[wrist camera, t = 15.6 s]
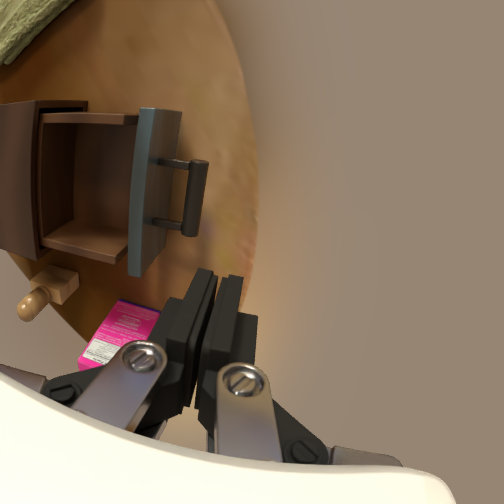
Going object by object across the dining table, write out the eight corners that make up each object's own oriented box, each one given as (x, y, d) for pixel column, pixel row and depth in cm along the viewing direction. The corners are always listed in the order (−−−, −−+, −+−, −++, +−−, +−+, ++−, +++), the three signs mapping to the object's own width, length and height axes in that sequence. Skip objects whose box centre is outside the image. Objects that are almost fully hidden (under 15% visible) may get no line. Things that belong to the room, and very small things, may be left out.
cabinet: (88, 100, 24) (35, 100, 16) (80, 229, 30) (36, 261, 22) (15, 105, 23) (-34, 111, 16) (13, 214, 29) (-30, 238, 22)
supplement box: (160, 344, 36) (131, 413, 25) (118, 331, 35) (81, 394, 25) (163, 310, 33) (128, 381, 23) (118, 296, 33) (73, 359, 22)
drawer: (225, 117, 24) (211, 114, 18) (202, 254, 29) (186, 289, 23) (79, 106, 23) (37, 107, 17) (73, 226, 29) (37, 250, 22)
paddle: (51, 278, 33) (9, 318, 24) (49, 262, 32) (3, 301, 23) (79, 287, 33) (38, 332, 24) (78, 271, 32) (33, 314, 23)
